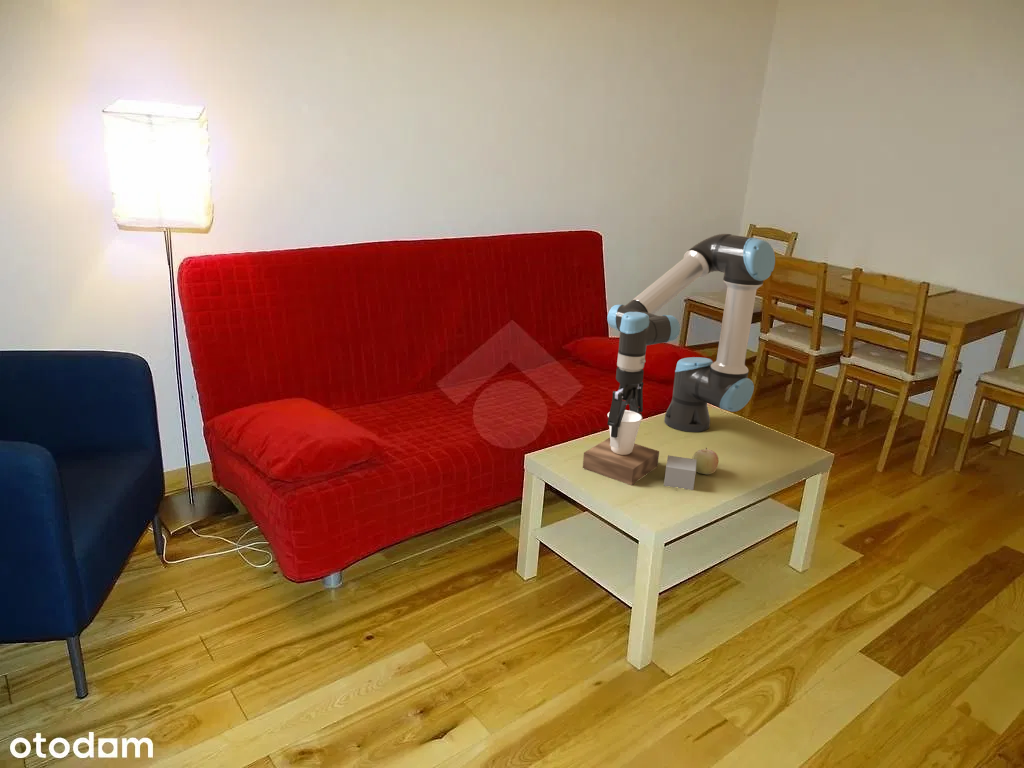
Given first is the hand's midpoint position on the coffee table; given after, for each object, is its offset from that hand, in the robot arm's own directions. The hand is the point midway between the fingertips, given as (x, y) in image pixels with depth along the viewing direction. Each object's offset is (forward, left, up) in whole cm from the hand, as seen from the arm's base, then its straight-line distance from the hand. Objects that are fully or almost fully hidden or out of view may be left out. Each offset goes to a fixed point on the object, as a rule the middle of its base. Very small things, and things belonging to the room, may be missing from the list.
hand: (623, 441), depth 207 cm
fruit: (-14, +20, -9) cm, 26 cm away
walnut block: (0, 0, -8) cm, 8 cm away
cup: (0, 0, -3) cm, 3 cm away
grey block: (-3, +17, -8) cm, 19 cm away
